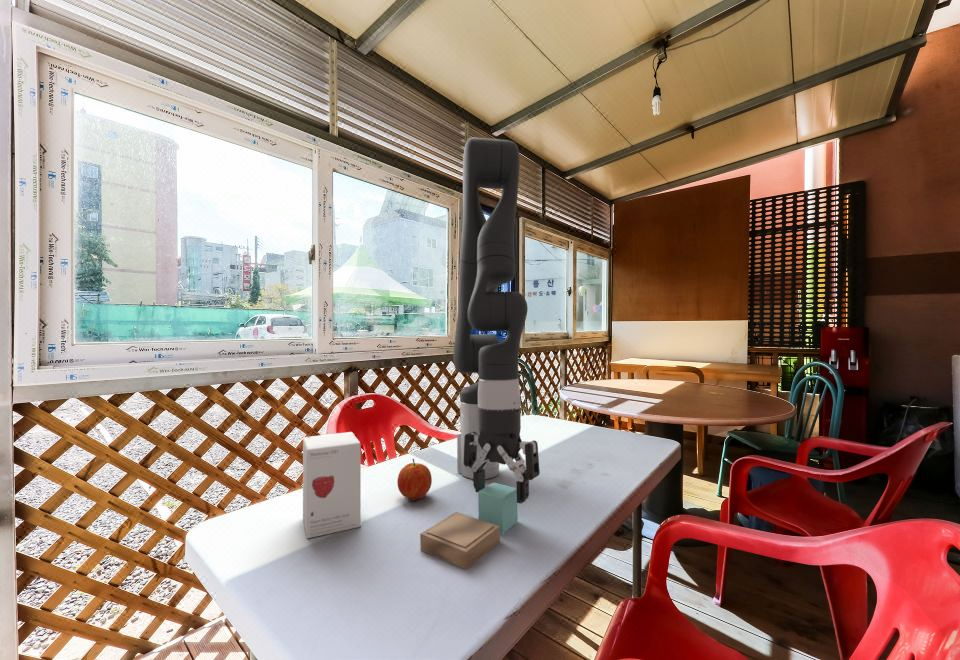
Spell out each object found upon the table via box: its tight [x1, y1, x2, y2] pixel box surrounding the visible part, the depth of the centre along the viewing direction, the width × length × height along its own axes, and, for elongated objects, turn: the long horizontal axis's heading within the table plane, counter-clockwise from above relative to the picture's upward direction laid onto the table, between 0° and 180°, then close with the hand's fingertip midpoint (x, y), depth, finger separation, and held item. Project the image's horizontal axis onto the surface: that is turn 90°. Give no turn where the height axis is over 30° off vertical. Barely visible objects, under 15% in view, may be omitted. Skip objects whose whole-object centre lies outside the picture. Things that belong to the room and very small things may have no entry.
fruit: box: [396, 458, 433, 501], centre depth 81 cm, size 7×7×8 cm
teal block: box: [477, 482, 519, 534], centre depth 70 cm, size 5×5×6 cm
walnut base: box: [419, 511, 501, 570], centre depth 63 cm, size 9×9×3 cm
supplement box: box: [302, 431, 362, 539], centre depth 71 cm, size 9×9×15 cm
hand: (500, 496), depth 70 cm, fingers open, 8 cm apart
